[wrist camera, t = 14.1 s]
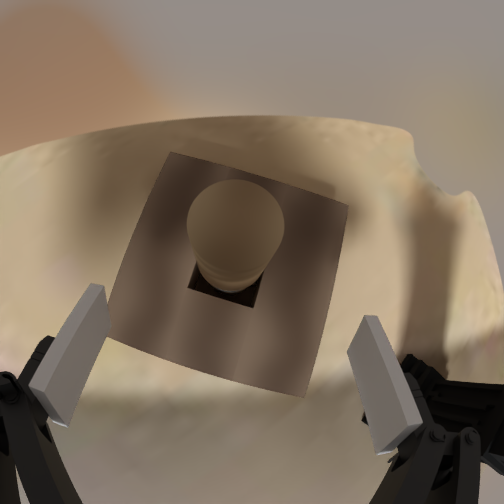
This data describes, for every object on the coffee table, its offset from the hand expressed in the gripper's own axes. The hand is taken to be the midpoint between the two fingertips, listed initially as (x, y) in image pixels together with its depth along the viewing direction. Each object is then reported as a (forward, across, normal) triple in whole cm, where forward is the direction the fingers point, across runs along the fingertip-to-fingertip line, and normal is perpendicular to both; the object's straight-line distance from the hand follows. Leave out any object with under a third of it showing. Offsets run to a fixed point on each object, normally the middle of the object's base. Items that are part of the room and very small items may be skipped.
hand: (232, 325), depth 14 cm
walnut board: (+11, 0, -4) cm, 12 cm away
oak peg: (+11, 0, -4) cm, 12 cm away
